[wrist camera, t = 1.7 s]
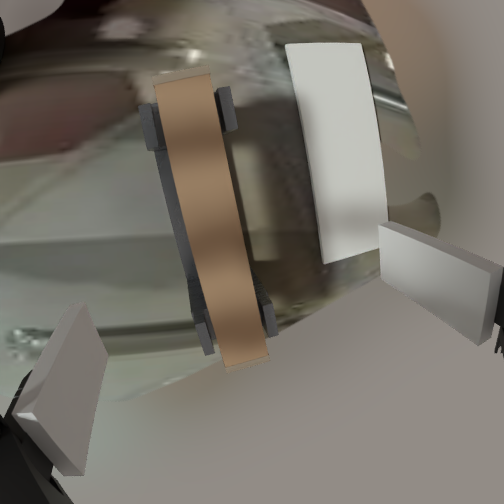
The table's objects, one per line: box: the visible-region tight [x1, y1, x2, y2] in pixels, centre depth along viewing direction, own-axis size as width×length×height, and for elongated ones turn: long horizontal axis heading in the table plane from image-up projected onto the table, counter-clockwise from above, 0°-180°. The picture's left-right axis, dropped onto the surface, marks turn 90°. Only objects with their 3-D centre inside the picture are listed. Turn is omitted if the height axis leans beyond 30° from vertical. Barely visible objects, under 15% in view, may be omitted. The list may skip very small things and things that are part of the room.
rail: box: [152, 65, 270, 373], centre depth 23 cm, size 22×4×3 cm, turn 11°
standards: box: [138, 86, 278, 356], centre depth 27 cm, size 22×6×10 cm, turn 11°
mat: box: [285, 43, 388, 264], centre depth 33 cm, size 24×9×1 cm, turn 11°
